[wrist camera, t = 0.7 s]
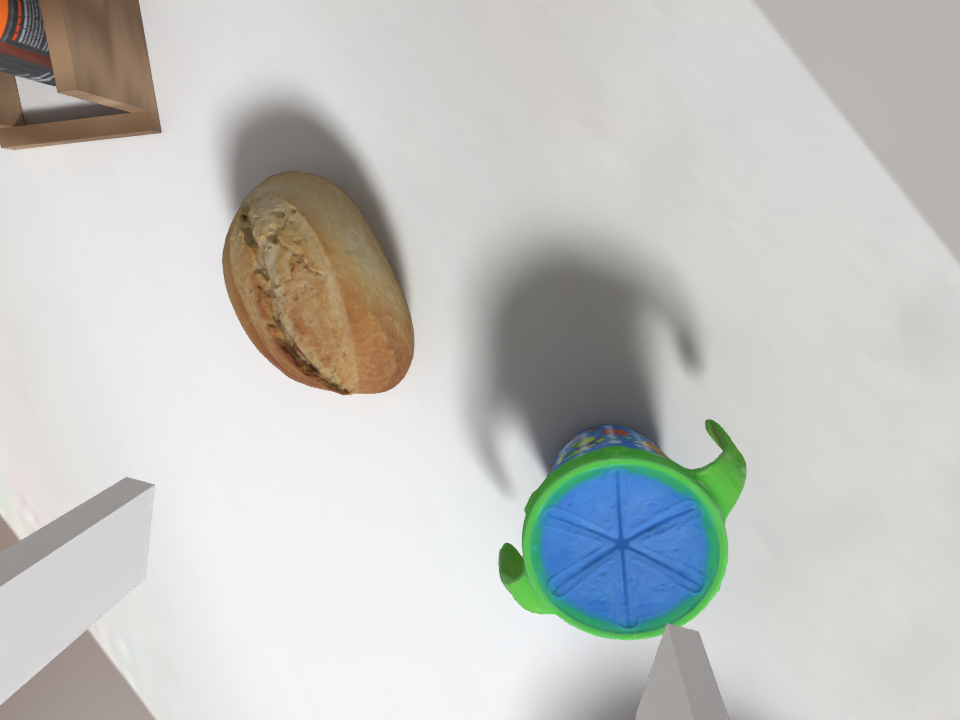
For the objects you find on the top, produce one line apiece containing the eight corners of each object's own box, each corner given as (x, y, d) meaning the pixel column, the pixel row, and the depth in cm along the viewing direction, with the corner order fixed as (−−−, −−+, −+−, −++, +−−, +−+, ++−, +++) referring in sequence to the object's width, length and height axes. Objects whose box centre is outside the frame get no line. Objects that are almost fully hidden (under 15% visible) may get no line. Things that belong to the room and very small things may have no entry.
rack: (-31, -54, 40) (-153, -113, 33) (124, -80, 38) (31, -146, 31) (13, 149, 42) (-91, 134, 35) (161, 132, 41) (82, 113, 34)
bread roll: (338, 413, 43) (291, 453, 36) (221, 222, 42) (145, 221, 34) (456, 349, 41) (434, 376, 34) (339, 145, 40) (287, 125, 32)
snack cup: (543, 585, 44) (540, 689, 34) (469, 461, 43) (443, 530, 33) (752, 491, 41) (815, 575, 31) (678, 354, 40) (719, 395, 30)
